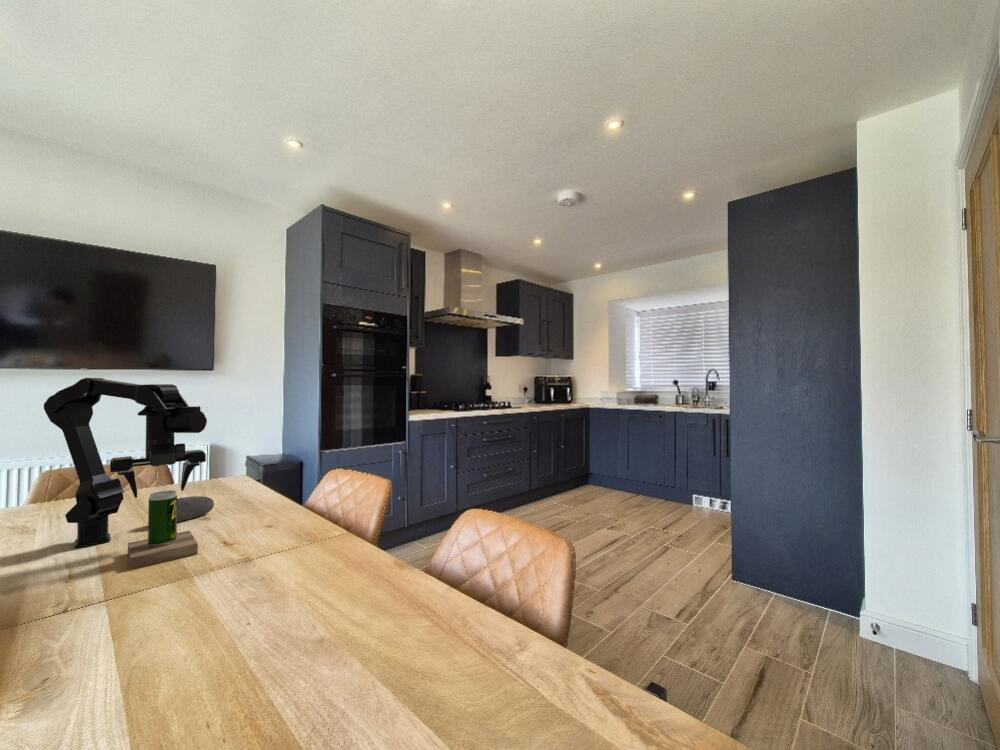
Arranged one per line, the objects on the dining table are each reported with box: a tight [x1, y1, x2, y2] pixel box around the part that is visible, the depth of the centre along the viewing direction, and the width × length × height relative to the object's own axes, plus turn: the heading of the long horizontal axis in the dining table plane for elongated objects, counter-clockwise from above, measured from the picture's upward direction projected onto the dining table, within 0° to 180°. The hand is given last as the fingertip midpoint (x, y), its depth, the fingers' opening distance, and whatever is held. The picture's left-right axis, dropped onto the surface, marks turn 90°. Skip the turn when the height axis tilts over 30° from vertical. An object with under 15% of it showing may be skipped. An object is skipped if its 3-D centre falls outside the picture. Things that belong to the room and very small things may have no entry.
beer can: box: [147, 490, 178, 547], centre depth 100 cm, size 5×5×12 cm
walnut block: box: [127, 530, 199, 570], centre depth 100 cm, size 12×12×2 cm
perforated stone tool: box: [177, 495, 215, 523], centre depth 125 cm, size 15×5×7 cm, turn 147°
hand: (159, 493), depth 107 cm, fingers open, 9 cm apart
